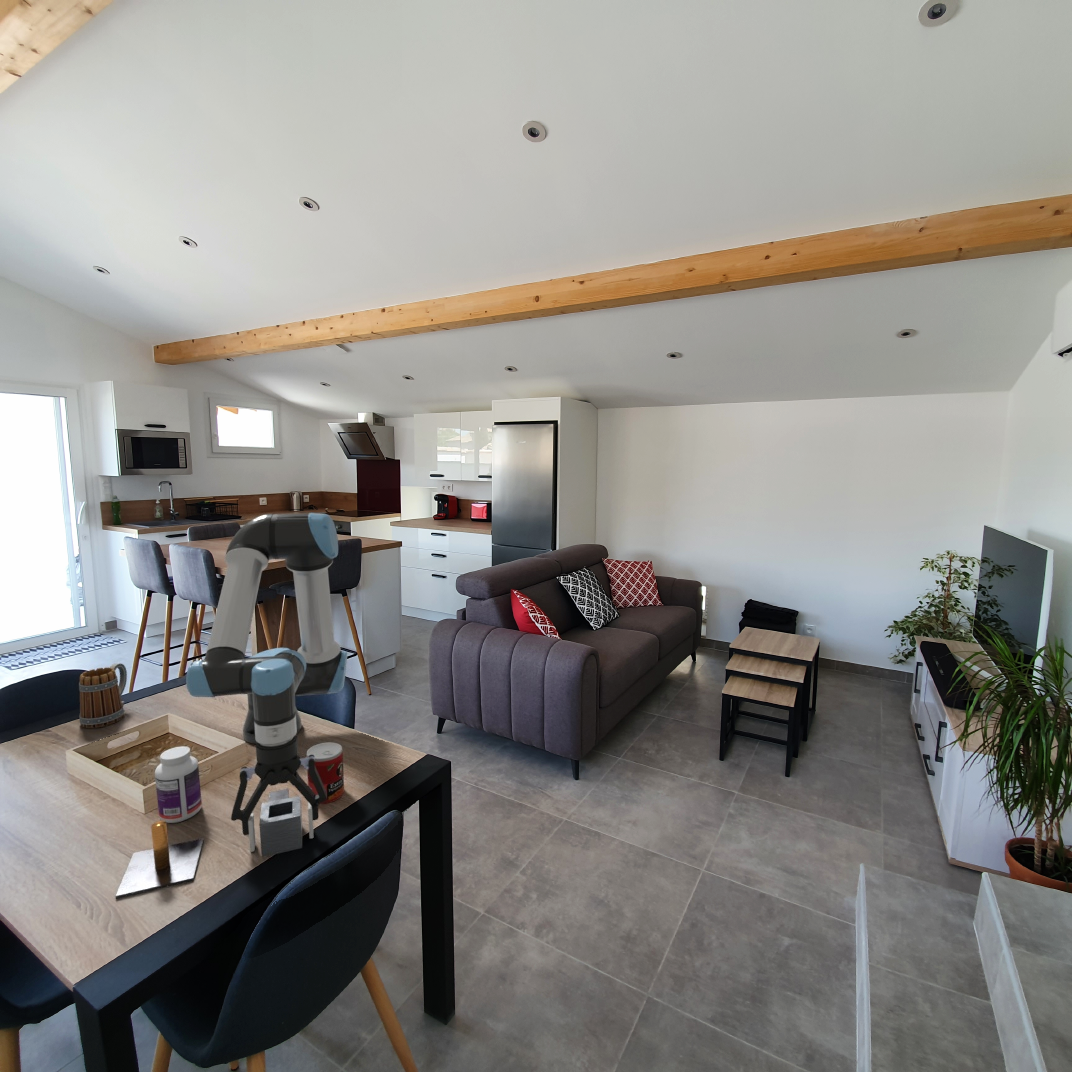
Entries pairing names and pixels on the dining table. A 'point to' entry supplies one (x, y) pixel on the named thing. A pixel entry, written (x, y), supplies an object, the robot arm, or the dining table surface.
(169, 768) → the pill bottle
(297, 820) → the end link
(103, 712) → the mug
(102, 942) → the dining table surface
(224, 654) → the robot arm
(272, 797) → the grey block with tab
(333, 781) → the canned food
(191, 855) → the keeper base
